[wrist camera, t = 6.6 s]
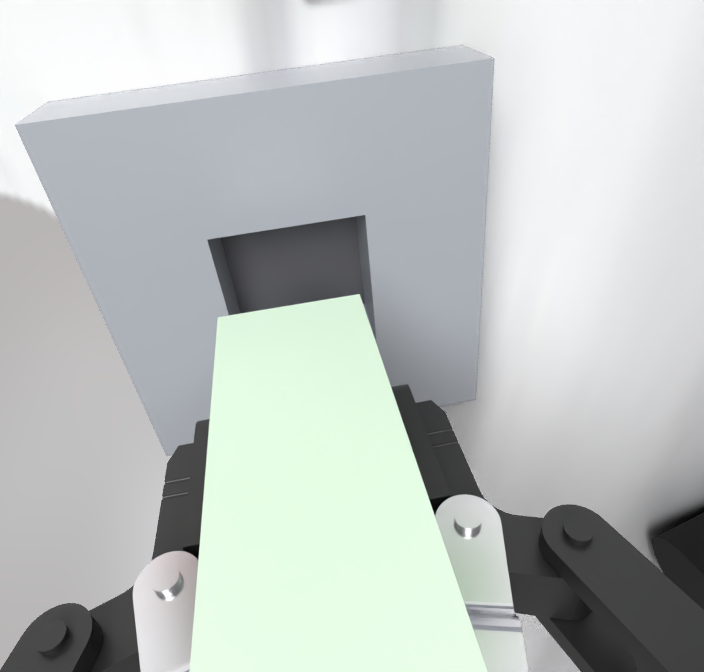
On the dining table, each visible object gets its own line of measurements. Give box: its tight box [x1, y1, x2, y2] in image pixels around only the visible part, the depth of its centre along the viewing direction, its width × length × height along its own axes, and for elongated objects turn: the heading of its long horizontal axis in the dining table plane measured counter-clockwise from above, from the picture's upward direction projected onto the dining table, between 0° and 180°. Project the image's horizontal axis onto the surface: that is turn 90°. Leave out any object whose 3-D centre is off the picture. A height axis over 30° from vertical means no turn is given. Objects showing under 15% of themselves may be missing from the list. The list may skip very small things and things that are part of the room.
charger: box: [190, 294, 487, 672], centre depth 12 cm, size 4×4×10 cm
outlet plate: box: [15, 45, 494, 456], centre depth 21 cm, size 14×14×3 cm
